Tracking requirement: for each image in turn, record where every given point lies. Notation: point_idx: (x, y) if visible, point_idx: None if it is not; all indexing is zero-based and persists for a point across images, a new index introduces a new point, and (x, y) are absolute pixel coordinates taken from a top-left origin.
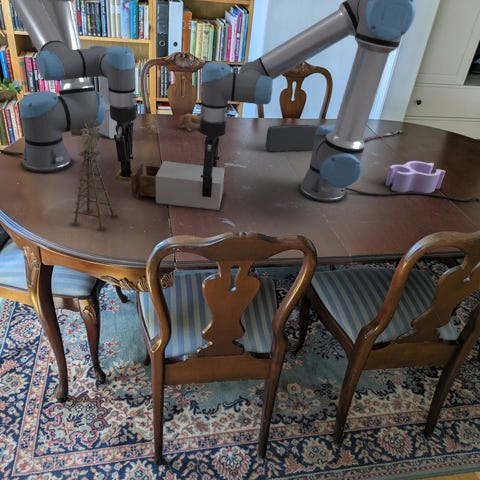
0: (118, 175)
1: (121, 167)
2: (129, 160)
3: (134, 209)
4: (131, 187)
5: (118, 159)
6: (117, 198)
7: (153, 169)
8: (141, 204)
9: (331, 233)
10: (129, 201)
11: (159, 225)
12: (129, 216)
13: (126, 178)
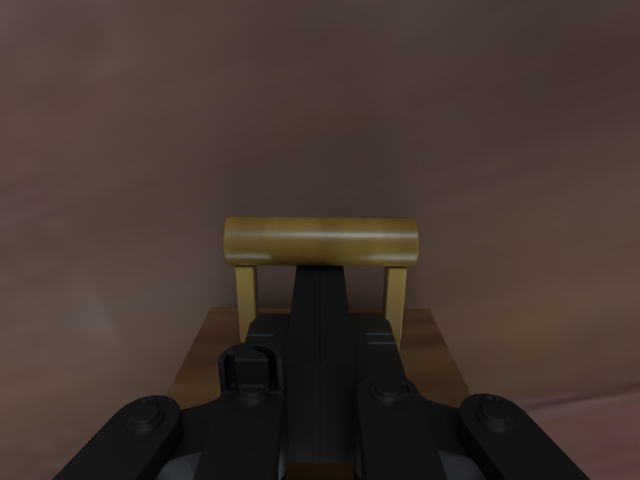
0: (247, 260)
1: (292, 314)
2: (330, 454)
3: (101, 339)
4: (190, 349)
5: (90, 447)
6: (196, 211)
7: None
8: (173, 360)
9: None
10: (183, 291)
11: (4, 471)
12: (14, 333)
13: (239, 326)
